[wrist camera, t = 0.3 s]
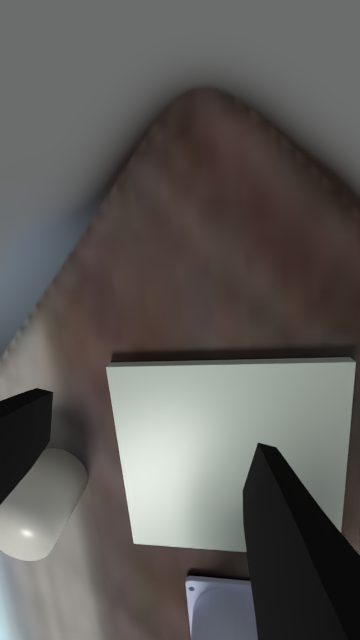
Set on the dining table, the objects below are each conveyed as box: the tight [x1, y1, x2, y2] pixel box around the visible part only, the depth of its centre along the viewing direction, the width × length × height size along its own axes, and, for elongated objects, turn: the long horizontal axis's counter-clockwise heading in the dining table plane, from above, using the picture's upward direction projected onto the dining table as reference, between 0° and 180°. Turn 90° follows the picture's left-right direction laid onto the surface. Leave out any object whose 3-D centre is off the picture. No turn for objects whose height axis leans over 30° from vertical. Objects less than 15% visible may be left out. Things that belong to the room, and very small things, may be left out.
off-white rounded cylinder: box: [0, 448, 88, 561], centre depth 21 cm, size 5×5×5 cm
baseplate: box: [106, 357, 356, 552], centre depth 20 cm, size 16×16×1 cm
